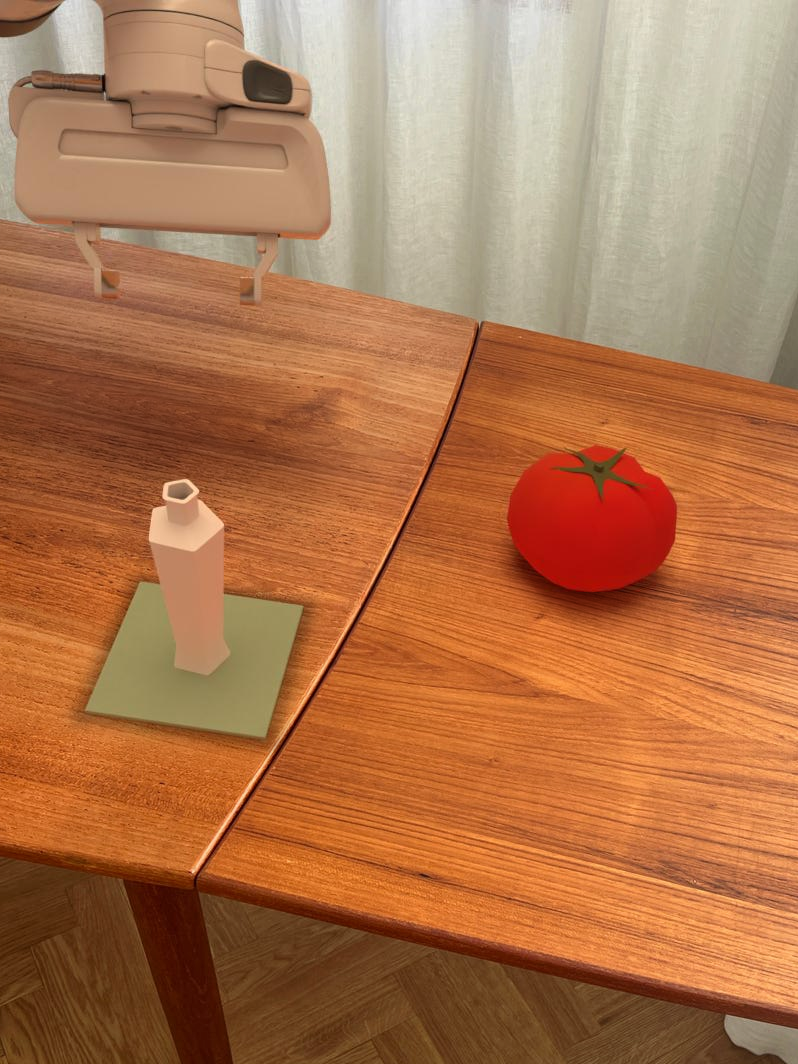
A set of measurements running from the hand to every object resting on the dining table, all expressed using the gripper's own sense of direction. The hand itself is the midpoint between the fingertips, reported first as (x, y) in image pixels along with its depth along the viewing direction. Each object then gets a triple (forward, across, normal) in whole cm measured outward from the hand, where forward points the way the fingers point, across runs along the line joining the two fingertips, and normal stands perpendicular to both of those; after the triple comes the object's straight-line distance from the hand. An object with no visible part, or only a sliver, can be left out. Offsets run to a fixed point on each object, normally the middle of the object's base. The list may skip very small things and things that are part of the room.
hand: (179, 302), depth 78 cm
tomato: (+18, +30, +3) cm, 35 cm away
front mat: (+24, +1, -4) cm, 24 cm away
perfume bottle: (+24, +1, -4) cm, 24 cm away
